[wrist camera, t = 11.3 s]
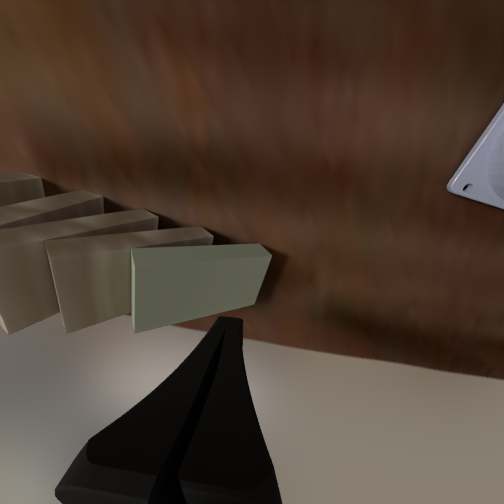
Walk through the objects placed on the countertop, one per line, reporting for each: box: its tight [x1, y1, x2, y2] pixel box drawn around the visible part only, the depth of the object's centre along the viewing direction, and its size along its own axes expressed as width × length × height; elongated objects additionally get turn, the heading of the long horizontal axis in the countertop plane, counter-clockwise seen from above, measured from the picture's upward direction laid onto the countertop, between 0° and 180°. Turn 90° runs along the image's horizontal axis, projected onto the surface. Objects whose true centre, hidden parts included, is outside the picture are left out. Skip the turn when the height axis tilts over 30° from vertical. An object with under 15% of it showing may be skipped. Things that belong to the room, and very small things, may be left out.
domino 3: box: [0, 208, 159, 335], centre depth 14 cm, size 2×5×9 cm, turn 164°
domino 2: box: [44, 226, 214, 334], centre depth 14 cm, size 2×5×9 cm
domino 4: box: [0, 190, 104, 229], centre depth 14 cm, size 2×5×9 cm, turn 164°
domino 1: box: [131, 244, 272, 333], centre depth 15 cm, size 2×5×9 cm
